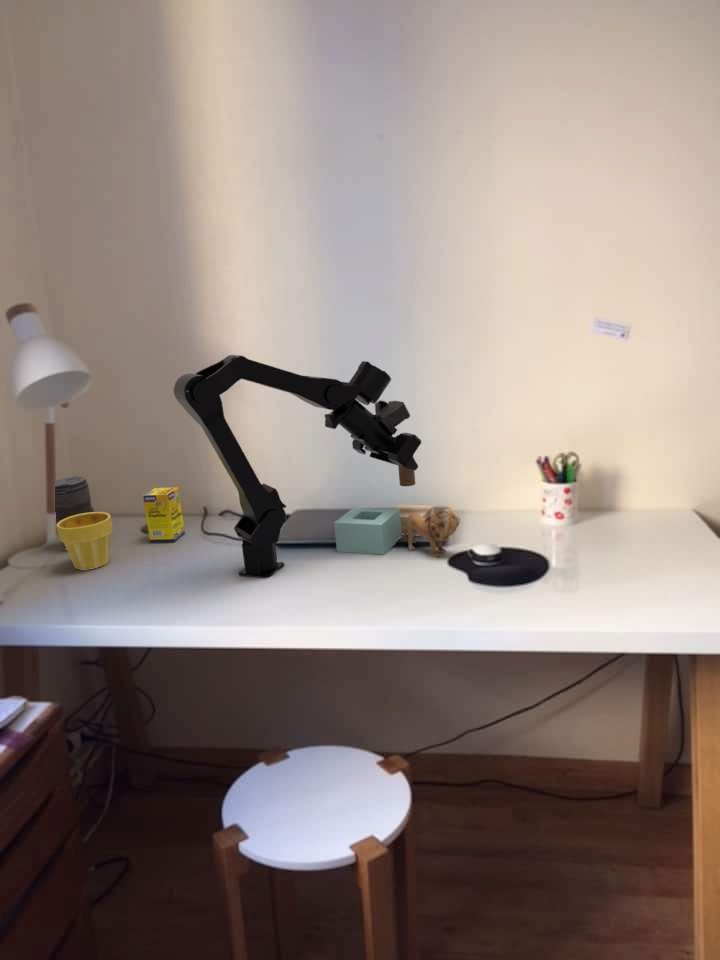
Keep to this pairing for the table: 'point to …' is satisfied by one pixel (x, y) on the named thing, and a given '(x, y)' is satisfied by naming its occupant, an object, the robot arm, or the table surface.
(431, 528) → the lion figurine
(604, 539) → the table surface
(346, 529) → the socket block
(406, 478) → the pin
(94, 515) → the plant pot
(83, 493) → the camera lens
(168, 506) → the supplement box
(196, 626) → the table surface
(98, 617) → the table surface
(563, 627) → the table surface
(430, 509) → the pedestal
